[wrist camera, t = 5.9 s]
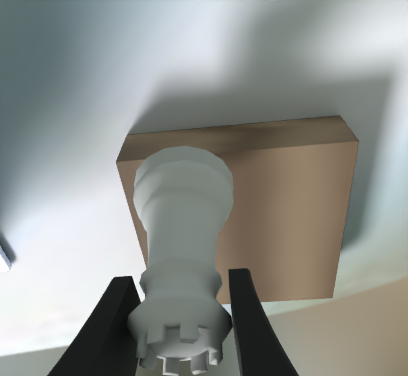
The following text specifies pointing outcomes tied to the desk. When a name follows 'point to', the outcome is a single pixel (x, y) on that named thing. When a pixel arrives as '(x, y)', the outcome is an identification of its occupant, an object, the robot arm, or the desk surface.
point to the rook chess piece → (181, 259)
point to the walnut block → (269, 199)
